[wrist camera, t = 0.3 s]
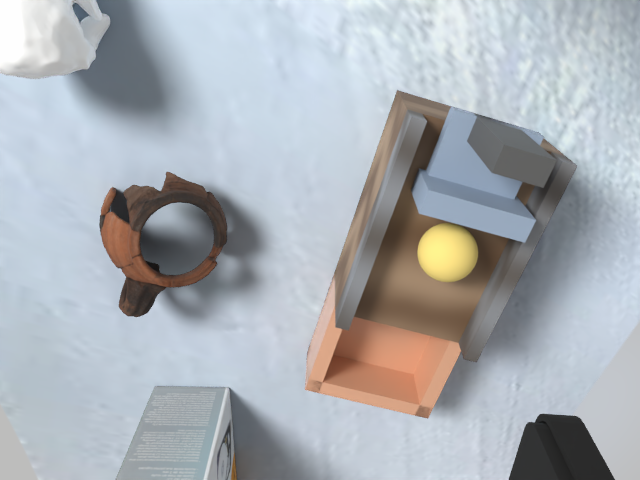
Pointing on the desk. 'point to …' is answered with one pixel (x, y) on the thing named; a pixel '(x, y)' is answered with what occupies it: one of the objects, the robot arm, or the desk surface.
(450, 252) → the ball
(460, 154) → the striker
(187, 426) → the hard drive box
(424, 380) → the cup
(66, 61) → the white animal figurine
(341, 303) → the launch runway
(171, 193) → the brown twisted loop
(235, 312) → the desk surface
